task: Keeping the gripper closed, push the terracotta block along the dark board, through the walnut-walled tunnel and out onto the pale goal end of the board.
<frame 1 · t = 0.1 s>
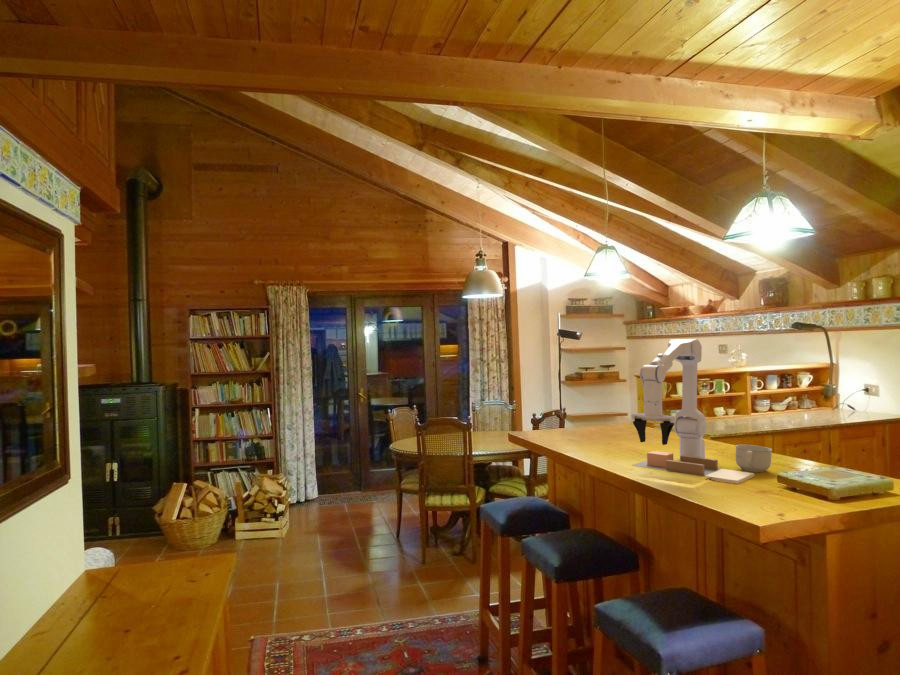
hand: (653, 443, 201), 10 cm above the table, tool pointing down, fingers open, 7 cm apart
terracotta block: (660, 464, 211), point 1 cm above the table, touching tunnel board
teacup: (752, 472, 203), on the table
tunnel board: (692, 472, 203), on the table
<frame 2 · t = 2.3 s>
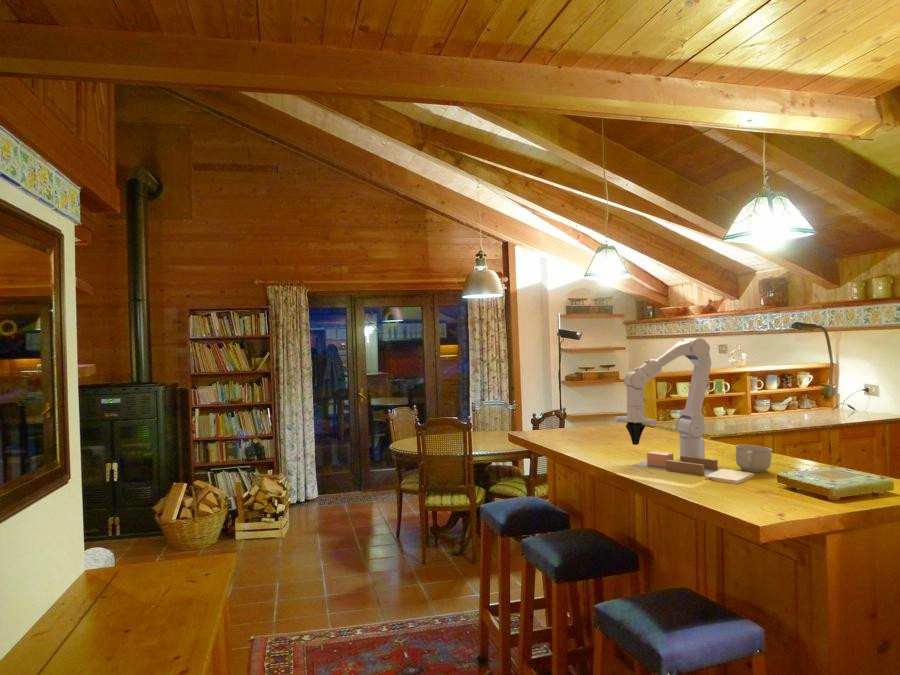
hand: (635, 444, 217), 7 cm above the table, tool pointing down, fingers closed
nothing on the table moved.
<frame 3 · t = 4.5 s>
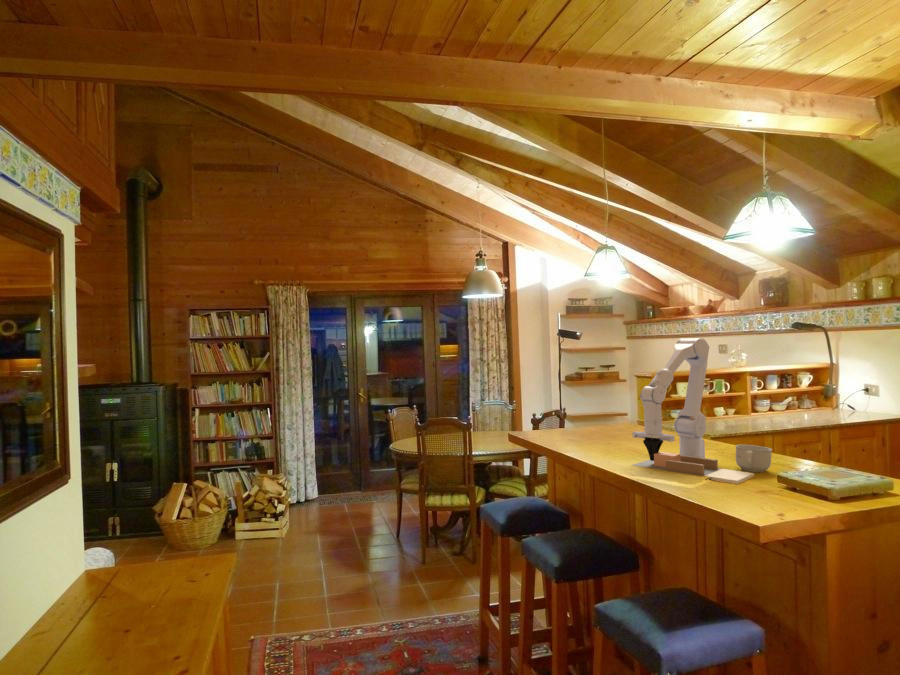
hand: (653, 460, 212), 2 cm above the table, tool pointing down, fingers closed
terracotta block: (667, 465, 209), point 1 cm above the table, touching tunnel board
everything else where it was.
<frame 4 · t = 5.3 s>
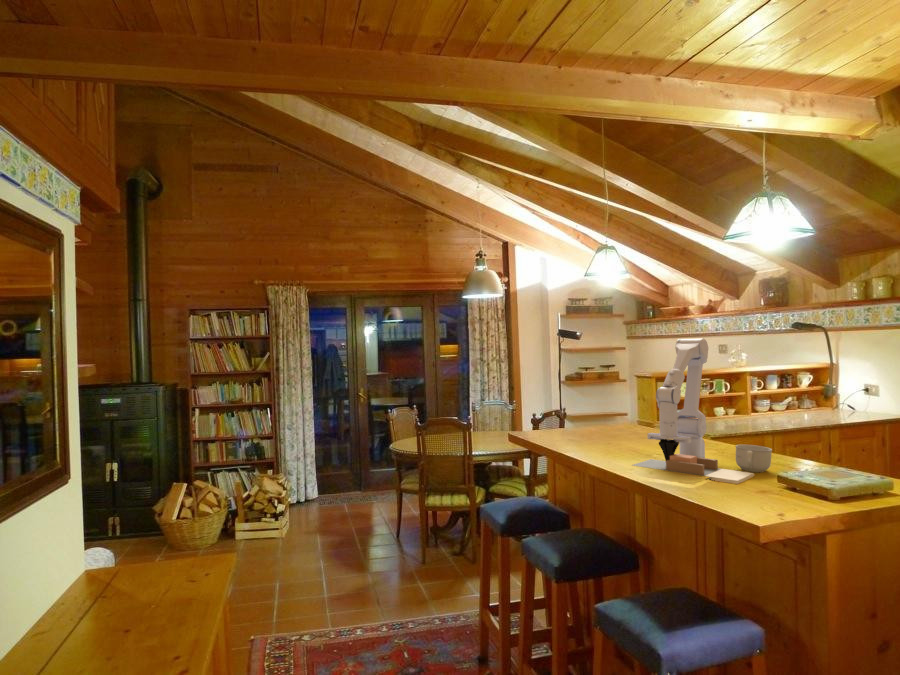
hand: (669, 462, 208), 2 cm above the table, tool pointing down, fingers closed
terracotta block: (683, 468, 205), point 1 cm above the table, touching gripper
everything else where it was.
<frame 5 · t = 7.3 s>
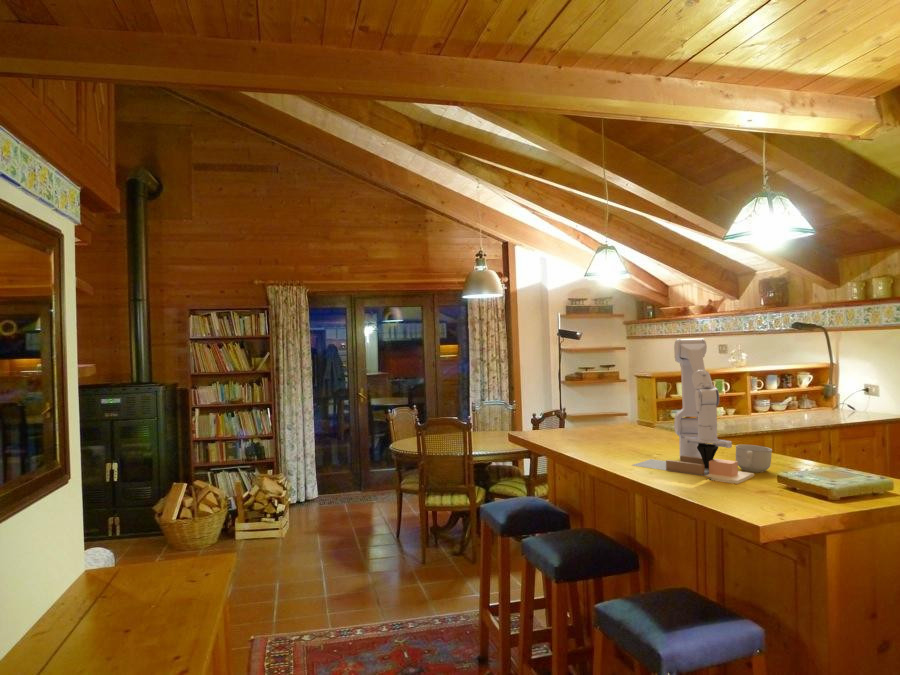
hand: (707, 467, 199), 2 cm above the table, tool pointing down, fingers closed
terracotta block: (723, 473, 195), point 1 cm above the table, touching tunnel board
everything else where it was.
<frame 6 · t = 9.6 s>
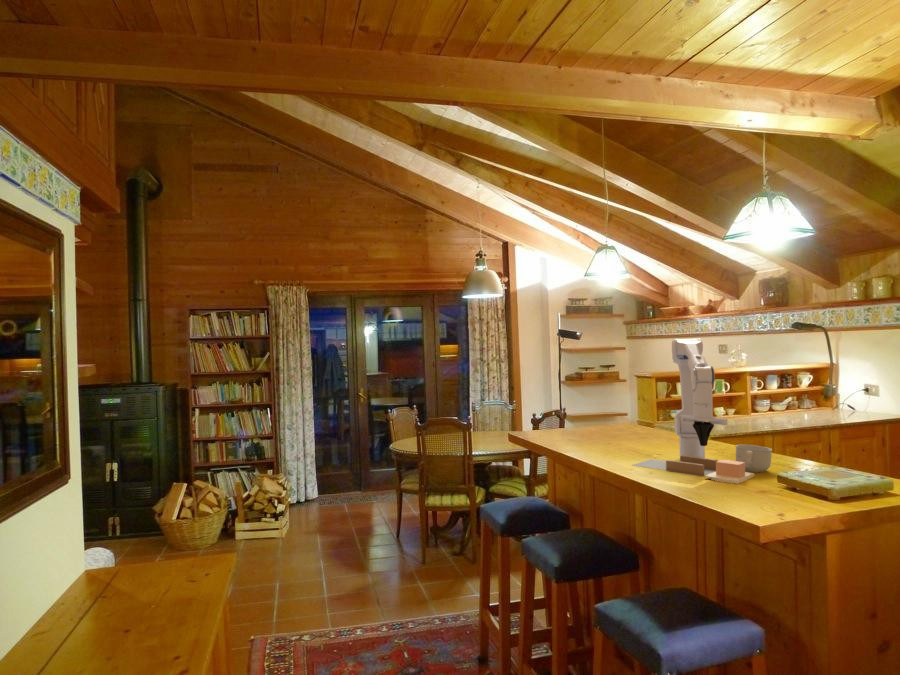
hand: (703, 445, 200), 9 cm above the table, tool pointing down, fingers closed
terracotta block: (730, 474, 194), point 1 cm above the table, touching tunnel board
everything else where it was.
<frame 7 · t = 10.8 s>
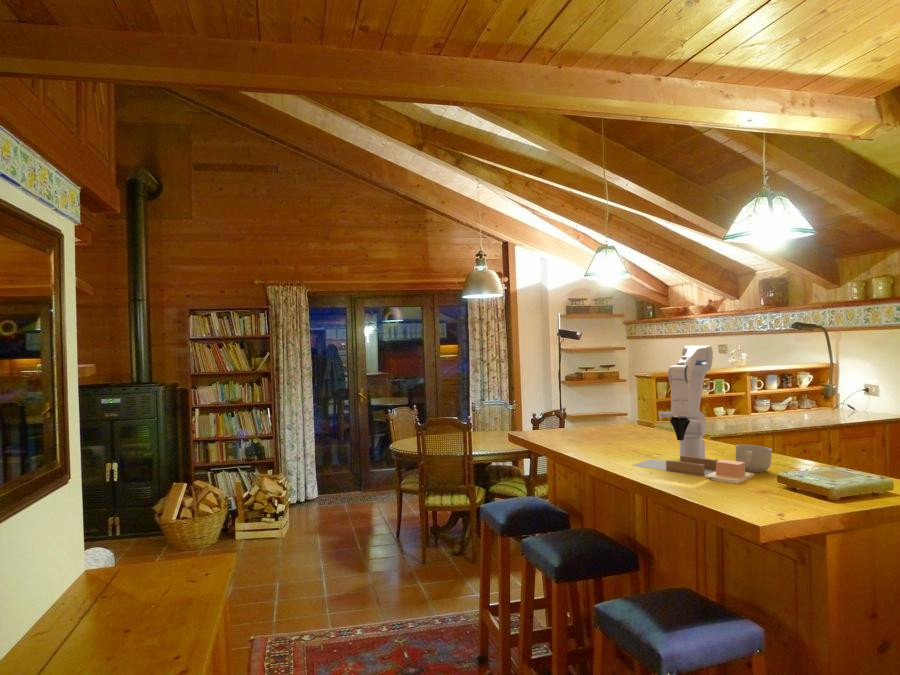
hand: (680, 440, 210), 9 cm above the table, tool pointing down, fingers closed
nothing on the table moved.
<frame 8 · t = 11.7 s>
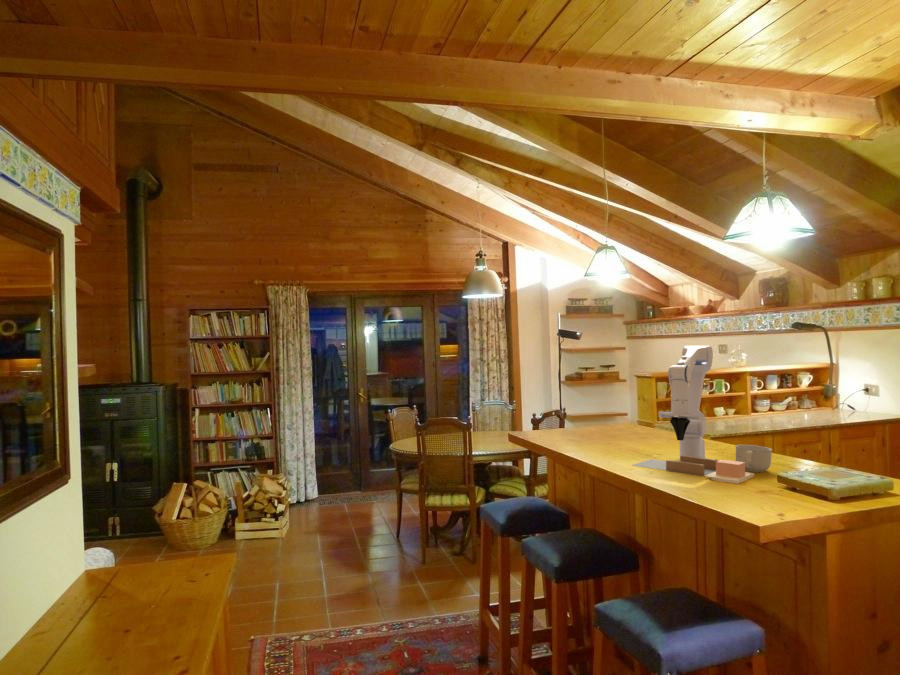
hand: (680, 440, 210), 9 cm above the table, tool pointing down, fingers closed
nothing on the table moved.
at the end: terracotta block inside the target area (0.6 cm from its centre), point 1.0 cm above the table; terracotta block tilted 0°; the gripper is holding nothing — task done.
